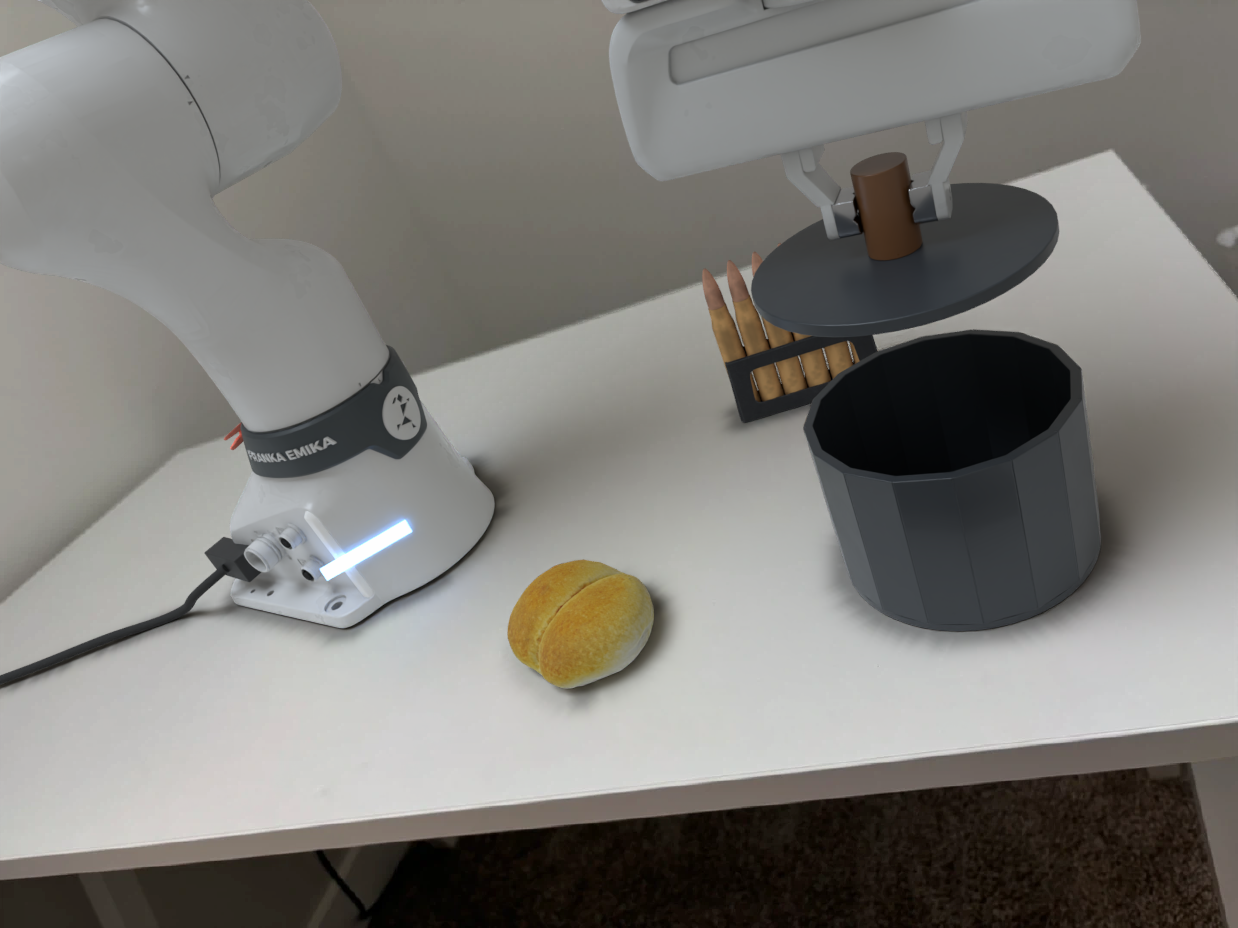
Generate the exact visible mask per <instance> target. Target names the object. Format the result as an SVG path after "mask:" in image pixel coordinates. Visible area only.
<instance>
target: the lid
mask: <svg viewBox="0 0 1238 928" xmlns="http://www.w3.org/2000/svg"><path fill="white" fill-rule="evenodd" d="M908 161H909V160H908V157H907V155H906V154H905V153H904V152H901V151H900V152H899V151H890V152H883V153H879V154H875V155H871V156H869V157H867V158H864V159H862V160H861V161H859V162H857V163H856V164H854V165H853V166H852V167H851V168H850V171H849V174H850V180H851V184H852V186H853V189H854V193H855V198H856V202H857V207H858V211H859V216H860V220H861V225H862V229H863V234H860V235H855V236H850V237H846V238H841V239H837V240H829V238H828V237H827V233H826V229H825V225H824V221H823V218H822V219H820V220H818V221H816V222H814V223H812V224H810V225H808V226H806V227H805V228H803V229H801V230H800V231H798V232H796V233H795V234H793V235H792V236H790V237H788V238H787V239H786V240H785V241H783V242H782V243H781V245H779V246H778V245H777V246H778V247H777V246H776V247H775V248H774V249H773V250H772V251H771V252H770V253H769V254H768V255H767V256H766V257H765V258H764V259H763V262H762V263H761V264H760V266H759V267H758V269H757V271H756V272H755V274H754V277H753V276H752V280H751V284H750V285H751V286H750V292H751V299H752V302H753V305H754V306H755V308H756V310H757V312H758V314H759V316H760V317H761V316H762V317H763V318H764V319H765V320H766V321H768V322H769V323H771V324H773V325H774V326H776V327H779V328H781V329H784V330H786V331H790V332H794V333H798V334H803V335H810V336H818V337H857V336H867V335H873V336H875V335H883V334H888V333H895V332H900V331H905V330H909V329H914V328H919V327H922V326H925V325H930V324H932V323H936V322H940V321H943V320H947V319H949V318H952V317H955V316H958V315H961V314H963V313H966V312H968V311H970V310H973V309H975V308H978V307H980V306H983V305H984V304H987V303H988V302H991V301H993V300H995V299H996V298H999V297H1000V296H1002V295H1004V294H1006V293H1007V292H1009V291H1011V290H1012V289H1014V288H1016V287H1017V286H1018V285H1021V284H1022V283H1023V282H1024V281H1026V280H1027V279H1028V278H1030V277H1031V276H1032V275H1034V274H1035V273H1036V272H1037V271H1038V270H1039V269H1040V268H1041V267H1042V266H1043V265H1044V264H1045V263H1046V262H1047V261H1048V259H1049V258H1050V257H1051V256H1052V254H1053V253H1054V250H1055V249H1056V246H1057V244H1058V242H1059V238H1060V237H1059V236H1060V224H1059V217H1058V213H1057V211H1056V209H1055V207H1054V205H1053V204H1052V203H1051V202H1050V201H1048V199H1047V198H1046V197H1044V196H1042V195H1041V194H1039V193H1038V192H1035V191H1032V190H1030V189H1026V188H1023V187H1019V186H1015V185H1010V184H1003V183H993V182H961V183H960V182H959V183H950V187H951V193H952V203H953V209H952V214H951V219H945V220H940V221H935V222H929V223H923V224H918V225H916V224H915V222H914V219H913V211H914V207H913V206H912V205H911V203H910V198H909V192H908V189H909V185H910V184H911V183H912V182H911V178H912V176H911V173H910V171H911V170H910V167H909V166H910V165H909V162H908ZM762 317H761V318H762Z"/></svg>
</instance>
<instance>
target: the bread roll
mask: <svg viewBox="0 0 1238 928" xmlns="http://www.w3.org/2000/svg"><path fill="white" fill-rule="evenodd" d="M654 609H655V607H654V605H653V602H652V597H651V594H650V592H649V591H648V588H647V586H646V585H645V584H644V583H643V581H642V580H640V578H638V577H637V576H634V575H632V574H628V573H625V572H623V571H621V570H619V569H617V568H615V567H612V566H610V565H608V564H606V563H603V562H601V561H595V560H588V559H575V560H572V561H567V562H562V563H558V564H556V565H553V566H552V567H551V568H549V569H547V570H545V571H544V572H542V573H541V574H539V575H538V576H537V577H535V578H534V579H533V580H532V581H531V582H530V584H528V586H527V587H526V588H525V589H524V590H523V592H522V594H521V595H520V596H519V598H518V599H517V601H516V603H515V604H514V606H513V608H512V609H511V613H510V615H509V619H508V623H507V640H508V644H509V646H510V649H511V651H512V653H513V655H514V656H515V657H516V659H517V660H518V661H519V662H520V663H521V664H523V665H524V666H526V667H528V668H529V669H531V670H534V671H535V672H537V673H539V675H540V676H541V677H543V679H544V680H545V682H547V683H549V684H551V685H552V686H554V687H557V688H560V689H573V688H577V687H583V686H586V685H589V684H592V683H594V682H597V681H599V680H602V679H604V678H607V677H608V676H611V675H614V674H616V673H618V672H621V671H623V670H624V669H625V668H626V667H628V665H630V664H631V663H632V662H633V661H635V660H636V658H637V657H638V656H639V654H640V653H641V651H643V649H644V647H645V646H646V645H647V642H648V641H649V638H650V636H651V633H652V629H653V626H654V619H655V610H654Z"/></svg>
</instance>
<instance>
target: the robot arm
mask: <svg viewBox="0 0 1238 928" xmlns="http://www.w3.org/2000/svg"><path fill="white" fill-rule="evenodd" d="M37 1H38V2H40V3H42V5H45V6H48V7H50V8H51V9H52V10H55V11H56V12H58V13H59V14H61V15H62V16H64V17H65V18H66V19H68V20H69V21H70V22H71V23H72V24H74V26H76V27H74V28H71V29H69V30H68V29H67V30H66V31H63V32H61V33H58V34H56V35H53V36H50V37H48V38H46V39H42V40H40V41H37V42H35V43H32V44H30V45H28V46H25V47H23V48H19V49H17V50H14V51H11V52H9V53H7V54H4V55H1V56H0V265H3V266H5V267H8V268H11V269H14V270H16V271H19V272H25V273H29V274H33V275H39V276H40V275H41V276H50V277H58V278H64V279H69V280H73V281H77V282H81V283H85V284H88V285H91V286H94V287H97V288H99V289H102V290H105V291H107V292H110V293H112V294H115V295H116V296H118V297H121V298H122V299H125V300H126V301H128V302H130V303H132V304H134V305H135V306H137V307H138V308H141V309H142V310H143V311H145V312H146V313H148V314H149V315H150V316H152V317H153V318H155V319H156V320H158V321H159V322H160V323H161V324H162V325H163V326H165V327H166V328H167V329H168V330H169V331H170V332H171V333H172V334H173V335H174V336H175V337H176V338H177V339H178V340H179V341H180V342H181V343H182V344H183V345H184V346H185V348H186V349H187V351H188V352H189V353H190V354H191V355H192V357H194V359H195V360H196V361H197V362H198V364H199V365H200V367H202V369H203V370H204V372H205V373H206V374H207V376H208V378H210V380H211V381H212V382H213V383H214V385H215V386H216V388H217V389H218V391H219V392H220V393H221V394H222V396H223V398H224V399H225V401H226V402H227V403H228V404H229V406H230V407H231V409H232V410H233V412H234V413H235V415H236V416H237V417H238V419H239V420H240V423H238V424H237V425H236V426H235V427H233V429H232V430H231V431H230V432H229V433H227V434H226V435H225V436H224V438H223V440H224V441H228V440H230V439H231V438H232V437H233V436H235V435H236V434H237V433H238V435H237V436H236V438H234V441H233V442H232V444H231V445H230V447H229V450H231V451H234V450H236V449H237V448H238V447H239V446H240V445H241V444H243V445H244V448H245V452H246V455H247V458H248V462H249V465H250V468H251V473H250V475H249V477H248V479H247V482H246V484H245V485H244V488H243V491H242V492H241V494H240V497H239V499H238V502H237V503H236V505H235V507H234V509H233V511H232V514H231V517H230V519H229V520H230V521H229V534H230V537H226V536H223V537H221V538H220V539H219V540H218V541H216V542H215V543H214V544H213V545H211V546H210V547H209V548H208V549H207V550H206V551H205V552H204V555H205V556H206V558H207V559H208V560H209V561H210V563H211V564H212V565H213V567H214V568H215V569H216V570H214V571H213V572H212V573H211V574H210V575H208V577H206V578H205V579H204V580H203V581H201V582H200V584H198V585H197V587H195V588H194V589H193V590H192V591H191V593H190V594H189V595H188V596H187V597H186V599H185V600H184V602H183V604H182V605H180V606H178V607H177V608H175V609H173V610H171V611H168V612H167V613H164V614H161V615H159V616H157V617H154V618H151V619H148V620H144V621H141V622H138V623H136V624H131V625H129V626H125V627H122V628H120V629H116V630H114V631H110V632H108V633H105V634H102V635H99V636H97V637H94V638H91V639H90V640H87V641H85V642H81V643H80V644H77V645H74V646H72V647H70V648H67V649H64V650H63V651H60V652H58V653H55V654H52V655H50V656H47V657H45V658H42V659H39V660H37V661H34V662H32V663H29V664H26V665H24V666H22V667H19V668H16V669H13V670H11V671H8V672H5V673H3V674H0V685H3V684H6V683H9V682H12V681H14V680H18V679H19V678H22V677H26V676H29V675H30V674H33V673H36V672H38V671H41V670H44V669H47V668H49V667H52V666H53V665H56V664H59V663H61V662H63V661H66V660H69V659H71V658H73V657H76V656H78V655H81V654H83V653H85V652H89V651H91V650H93V649H96V648H98V647H101V646H104V645H106V644H109V643H112V642H115V641H117V640H120V639H124V638H126V637H129V636H133V635H136V634H139V633H142V632H145V631H148V630H151V629H155V628H157V627H160V626H163V625H165V624H167V623H171V622H173V621H175V620H177V619H179V618H181V617H183V616H185V615H187V614H188V613H189V612H190V611H192V609H193V608H194V607H195V605H196V603H197V601H198V600H199V599H200V598H201V597H202V596H203V595H204V594H205V593H206V592H207V591H209V590H210V589H211V588H212V587H213V586H214V585H215V584H217V583H218V582H219V581H220V580H221V579H222V578H224V577H225V576H226V577H230V578H234V580H233V581H232V585H231V587H230V592H229V595H230V597H231V599H232V600H233V602H234V604H236V605H238V606H241V607H246V608H250V609H254V610H259V611H262V612H268V613H272V614H277V615H279V616H285V617H290V618H293V619H298V620H303V621H306V622H312V623H316V624H320V625H325V626H329V627H333V628H337V629H346V628H350V627H352V626H354V625H356V624H358V623H359V622H361V621H363V620H364V619H366V618H367V617H368V616H370V615H371V614H373V613H375V612H376V611H377V610H378V609H379V608H381V607H383V605H385V604H387V603H389V602H391V601H393V600H395V599H397V598H399V597H401V596H403V595H406V594H408V593H410V592H412V591H414V590H416V589H419V588H420V587H422V586H424V585H426V584H427V583H429V582H431V581H433V580H434V579H436V578H438V577H439V576H441V575H442V574H444V573H445V572H446V571H448V570H449V569H450V568H452V567H453V566H454V565H455V564H457V563H458V562H459V561H460V560H461V559H463V558H464V556H466V554H468V553H469V552H470V551H471V549H472V548H473V547H474V546H475V545H476V544H477V543H478V542H479V541H480V540H481V538H482V536H483V535H484V533H485V532H486V530H487V529H488V527H489V525H490V524H491V521H492V519H493V516H494V513H495V505H496V504H495V498H494V495H493V493H492V491H491V489H489V488H488V487H487V485H486V484H484V482H483V481H482V480H481V479H480V478H479V477H478V476H477V475H476V473H475V469H474V467H473V465H472V463H471V462H470V460H469V459H468V458H467V457H466V456H464V455H461V454H460V453H459V452H458V451H457V449H456V448H455V446H454V445H453V443H452V442H451V440H450V439H449V438H448V437H447V435H446V433H445V432H444V431H443V429H442V428H441V426H440V425H439V423H438V422H437V421H436V419H435V418H434V416H433V415H432V413H431V412H430V411H429V410H428V408H427V406H426V405H425V404H424V403H423V401H422V400H421V398H420V396H419V391H418V387H417V385H416V383H415V382H414V380H413V378H412V376H411V375H410V372H409V371H408V367H407V365H406V364H405V361H404V360H403V359H402V358H400V355H399V354H398V352H397V351H396V349H395V348H394V347H393V346H391V345H389V344H386V343H385V341H384V338H383V337H382V335H381V334H380V332H379V330H378V328H377V326H376V325H375V322H374V321H373V319H372V317H371V315H370V314H369V311H368V310H367V308H366V306H365V305H364V303H363V301H362V299H361V297H360V295H359V294H358V292H357V290H356V288H355V287H354V284H353V283H352V281H351V278H350V277H349V276H348V274H347V272H346V270H345V268H344V266H343V264H342V263H341V262H340V261H339V260H338V259H337V258H336V257H335V256H333V255H332V254H331V253H330V252H328V251H327V250H325V249H323V248H322V247H320V246H318V245H316V244H313V243H311V242H309V241H304V240H300V239H294V238H283V237H282V238H280V237H279V238H278V237H267V238H266V237H257V238H249V237H247V236H245V235H244V234H242V233H241V232H240V231H239V230H237V229H236V228H235V227H234V226H233V225H232V224H231V223H230V222H229V220H227V219H226V218H225V216H224V215H223V214H222V213H221V211H220V209H219V208H218V206H217V204H216V203H215V202H214V197H215V196H217V195H218V194H220V193H222V192H224V191H225V190H227V189H229V188H231V187H232V186H234V185H236V184H238V183H240V182H241V181H243V180H245V179H247V178H249V177H251V176H253V175H254V174H256V173H258V172H260V171H261V170H263V169H265V168H267V167H269V166H270V165H273V164H275V163H276V162H278V161H280V160H281V159H283V158H285V157H287V156H289V155H291V153H293V152H294V151H295V150H296V149H297V148H298V147H299V146H301V145H302V144H303V143H304V142H305V141H306V140H307V139H309V137H311V136H312V135H313V134H314V133H315V132H316V131H317V130H318V129H319V128H320V127H321V126H322V125H323V124H324V123H325V122H326V121H327V120H328V119H329V118H330V117H331V116H332V115H333V114H334V113H335V111H336V110H337V109H338V107H339V105H340V101H341V98H342V92H343V70H342V64H341V57H340V53H339V50H338V46H337V44H336V41H335V39H334V37H333V34H332V32H331V30H330V28H329V26H328V25H327V23H326V21H325V20H324V18H323V17H322V15H321V14H320V12H319V11H318V10H317V8H316V7H315V5H313V4H312V2H311V1H309V0H36V2H37ZM601 3H602V5H603V7H604V8H605V9H606V10H607V11H608V12H610V13H612V14H613V15H614V14H615V15H623V16H622V17H620V19H619V20H618V21H617V23H616V25H615V26H614V28H613V30H612V32H611V36H610V39H609V45H608V63H609V70H610V76H611V81H612V86H613V90H614V96H615V100H616V103H617V107H618V111H619V112H618V113H619V115H620V118H621V119H620V120H621V124H622V127H623V130H624V133H625V136H626V141H627V143H628V146H629V149H630V151H631V155H632V157H633V159H634V162H635V163H636V164H637V166H638V167H639V168H640V169H642V170H643V171H644V172H645V173H646V174H647V175H649V176H651V177H652V178H653V179H655V180H656V181H658V182H667V181H672V180H676V179H680V178H685V177H689V176H693V175H698V174H702V173H706V172H710V171H711V172H712V171H715V170H720V169H723V168H728V167H732V166H736V165H740V164H745V163H749V162H753V161H758V160H763V159H767V158H771V157H775V156H779V155H780V158H781V163H782V166H783V170H784V174H785V177H786V179H787V180H788V181H789V182H790V183H791V184H792V185H793V186H794V187H796V189H798V191H799V192H801V193H802V194H803V196H804V197H805V198H807V200H808V201H810V202H811V203H812V204H813V205H814V207H816V208H817V209H818V208H820V213H821V216H822V219H823V221H824V225H825V229H826V233H827V237H828V238H829V240H837V239H841V238H846V237H850V236H855V235H860V234H863V229H862V225H861V220H860V216H859V211H858V207H857V202H856V198H855V193H854V189H853V185H851V186H848V187H841V186H840V184H838V182H837V181H836V180H835V178H833V177H832V176H831V174H830V173H829V172H828V171H827V170H826V169H825V168H824V166H823V165H822V164H821V163H820V161H821V159H822V157H823V156H824V153H825V151H826V149H825V145H827V144H832V143H836V142H840V141H845V140H848V139H852V138H858V137H862V136H867V135H870V134H875V133H879V132H884V131H888V130H892V129H896V128H897V129H898V128H901V127H906V126H910V125H914V124H917V123H918V124H919V123H922V122H924V127H925V131H926V137H927V142H928V144H929V145H931V146H933V145H935V146H936V145H938V144H939V145H940V146H939V149H938V151H937V154H936V155H935V156H936V157H935V159H934V161H933V164H932V166H931V169H929V170H925V171H920V172H916V173H912V175H911V182H912V183H911V184H910V185H909V189H908V192H909V198H910V203H911V205H912V206H913V207H914V211H913V219H914V222H915V224H916V225H918V224H923V223H929V222H935V221H940V220H945V219H951V214H952V209H953V203H952V193H951V187H950V184H951V181H950V174H951V172H952V170H953V167H954V165H955V162H956V160H957V158H958V156H959V153H960V152H961V151H960V150H961V148H962V146H963V143H964V141H965V138H966V132H967V127H968V123H969V117H968V112H970V111H974V110H978V109H983V108H987V107H992V106H996V105H1000V104H1005V103H1009V102H1012V101H1016V100H1022V99H1026V98H1031V97H1035V96H1039V95H1044V94H1048V93H1052V92H1056V91H1061V90H1064V89H1070V88H1073V87H1078V86H1082V85H1087V84H1091V83H1095V82H1099V81H1103V80H1108V79H1112V78H1114V77H1117V76H1118V75H1120V74H1122V72H1123V71H1124V70H1125V68H1126V67H1127V66H1128V64H1129V63H1130V61H1131V60H1132V59H1133V57H1134V56H1135V54H1136V53H1137V51H1138V50H1139V47H1140V46H1141V44H1142V35H1141V34H1142V33H1141V23H1140V13H1139V6H1138V0H601Z"/></svg>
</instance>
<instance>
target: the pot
mask: <svg viewBox="0 0 1238 928" xmlns="http://www.w3.org/2000/svg"><path fill="white" fill-rule="evenodd" d="M1086 401H1087V400H1086V393H1085V384H1084V375H1083V369H1082V367H1080V365H1079V364H1078V363H1077V362H1076V361H1075V360H1073V358H1072V357H1071V356H1070V355H1069V354H1068V353H1066V351H1065V350H1063V348H1062V347H1061V346H1060V345H1059V344H1056V343H1053V342H1050V341H1047V340H1044V339H1041V338H1038V337H1036V336H1033V335H1029V334H1028V333H1027V334H1026V333H1023V332H1020V331H1010V330H1008V331H1007V330H991V329H977V328H976V329H975V328H973V329H964V330H957V331H951V332H944V333H936V334H931V335H923V336H919V337H917V338H914V339H911V340H910V339H909V340H907V341H905V342H902V343H901V342H900V343H898V344H895V345H892V346H889V347H886V348H883V349H880V350H878V351H877V352H875V353H873V354H872V355H870V356H868V357H866V358H865V359H863V360H861V361H859V362H858V363H856V364H854V365H852V366H851V367H849V368H847V369H845V370H844V371H842V372H840V373H839V374H837V375H836V376H835V377H834V378H833V380H832V381H831V382H830V383H829V384H828V385H827V386H826V387H825V388H824V389H823V390H822V391H821V392H820V393H819V394H818V395H817V396H816V397H815V398H814V399H813V400H812V403H810V406H809V409H808V412H807V414H806V419H805V421H804V424H803V428H802V429H803V433H804V436H805V439H806V443H807V446H808V449H809V453H810V456H811V460H812V463H813V465H814V469H815V472H816V475H817V479H818V481H819V485H820V488H821V491H822V495H823V498H824V501H825V505H826V507H827V511H828V515H829V518H830V521H831V524H832V527H833V530H834V534H835V537H836V540H837V543H838V547H839V550H840V553H841V556H842V559H843V562H844V565H845V568H846V571H847V573H848V577H849V579H850V581H851V584H852V586H853V587H854V589H855V590H856V591H857V593H858V594H859V596H860V597H861V598H862V599H863V600H864V601H866V602H867V604H868V605H870V606H871V607H872V608H873V609H876V610H877V611H878V612H880V613H881V614H883V615H885V616H887V617H890V618H891V619H892V620H896V621H899V622H901V623H904V624H907V625H910V626H914V627H918V628H922V629H927V630H928V629H929V630H936V631H945V632H947V631H950V632H970V631H981V630H988V629H995V628H1000V627H1004V626H1009V625H1013V624H1016V623H1019V622H1022V621H1025V620H1028V619H1031V618H1033V617H1036V616H1037V615H1040V614H1042V613H1045V612H1046V611H1048V610H1050V609H1051V608H1054V607H1055V606H1057V605H1059V604H1060V603H1061V602H1063V601H1064V600H1065V599H1067V598H1068V597H1070V595H1072V594H1073V593H1074V592H1076V590H1077V589H1078V588H1079V587H1080V586H1081V585H1083V584H1084V582H1085V581H1086V579H1087V578H1088V577H1089V575H1091V573H1092V571H1093V569H1094V567H1095V566H1096V563H1097V561H1098V559H1099V555H1100V552H1101V548H1102V535H1101V521H1100V520H1101V519H1100V509H1099V499H1098V492H1097V483H1096V476H1095V467H1094V460H1093V459H1094V458H1093V449H1092V442H1091V435H1090V426H1089V418H1088V410H1087V402H1086Z"/></svg>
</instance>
